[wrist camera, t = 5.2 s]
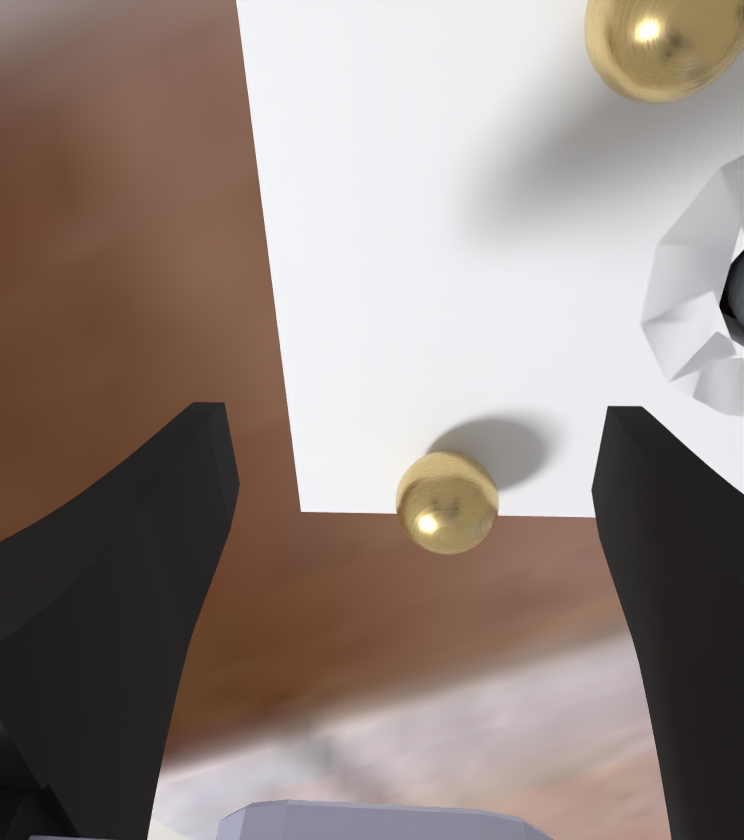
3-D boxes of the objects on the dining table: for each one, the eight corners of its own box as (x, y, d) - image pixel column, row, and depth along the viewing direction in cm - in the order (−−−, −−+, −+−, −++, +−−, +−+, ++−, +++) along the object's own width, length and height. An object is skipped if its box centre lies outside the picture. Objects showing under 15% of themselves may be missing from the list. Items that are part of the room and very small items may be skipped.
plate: (1253, -132, 15) (1384, -141, 13) (919, 475, 25) (964, 524, 23) (249, -86, 16) (224, -89, 14) (311, 466, 26) (301, 511, 24)
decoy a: (498, 430, 22) (508, 499, 19) (491, 506, 24) (499, 578, 21) (396, 430, 22) (392, 497, 19) (397, 504, 24) (394, 575, 21)
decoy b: (744, -88, 14) (817, -91, 11) (705, 86, 16) (761, 117, 13) (582, -80, 14) (617, -83, 12) (563, 89, 16) (589, 121, 13)
